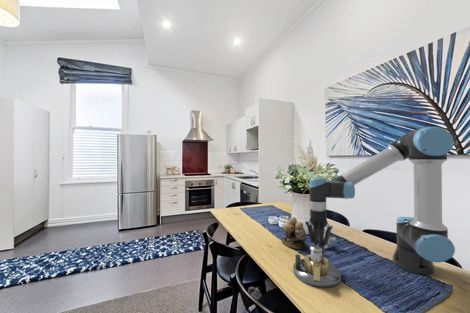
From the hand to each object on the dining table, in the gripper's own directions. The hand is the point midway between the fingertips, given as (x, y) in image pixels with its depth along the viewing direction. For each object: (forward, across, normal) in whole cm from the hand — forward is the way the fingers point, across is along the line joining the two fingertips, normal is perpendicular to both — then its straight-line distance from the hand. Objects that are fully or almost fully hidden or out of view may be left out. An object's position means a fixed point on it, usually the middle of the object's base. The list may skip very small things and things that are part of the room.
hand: (319, 258), depth 100 cm
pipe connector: (+4, +6, -22) cm, 24 cm away
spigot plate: (+4, -2, +7) cm, 9 cm away
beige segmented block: (+2, -2, +7) cm, 8 cm away
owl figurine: (+4, +21, -13) cm, 25 cm away
